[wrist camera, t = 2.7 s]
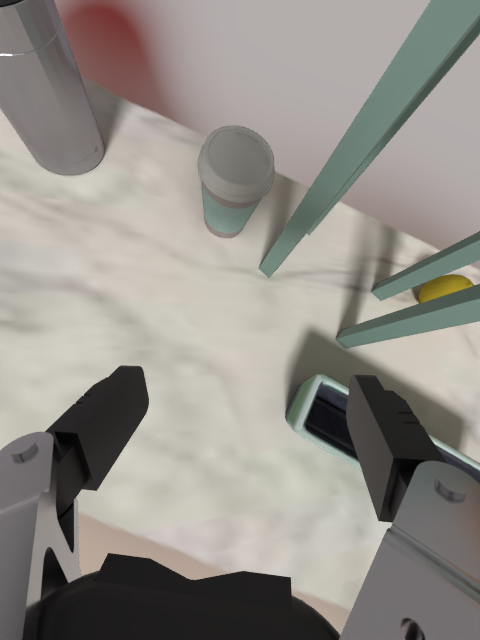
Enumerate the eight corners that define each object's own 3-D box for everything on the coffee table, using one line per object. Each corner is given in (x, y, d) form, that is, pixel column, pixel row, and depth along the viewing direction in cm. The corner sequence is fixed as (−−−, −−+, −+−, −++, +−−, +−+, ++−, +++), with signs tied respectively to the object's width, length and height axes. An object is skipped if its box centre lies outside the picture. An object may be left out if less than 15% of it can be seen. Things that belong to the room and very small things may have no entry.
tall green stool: (258, 268, 39) (522, -143, 8) (306, 218, 42) (619, -202, 12) (345, 348, 39) (935, 228, 8) (387, 292, 42) (911, 59, 12)
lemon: (418, 325, 42) (470, 312, 35) (400, 293, 43) (447, 274, 35) (442, 311, 44) (497, 296, 36) (425, 281, 44) (475, 260, 37)
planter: (459, 466, 39) (518, 484, 32) (446, 519, 37) (507, 551, 30) (294, 372, 37) (319, 369, 30) (271, 422, 35) (292, 432, 28)
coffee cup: (258, 244, 40) (287, 188, 28) (200, 250, 38) (207, 193, 26) (246, 192, 41) (269, 120, 30) (190, 196, 39) (191, 120, 28)
